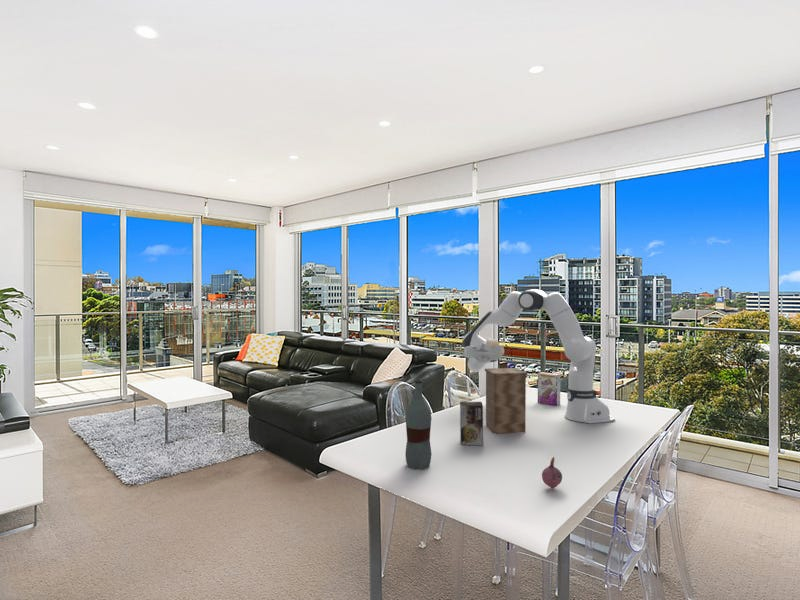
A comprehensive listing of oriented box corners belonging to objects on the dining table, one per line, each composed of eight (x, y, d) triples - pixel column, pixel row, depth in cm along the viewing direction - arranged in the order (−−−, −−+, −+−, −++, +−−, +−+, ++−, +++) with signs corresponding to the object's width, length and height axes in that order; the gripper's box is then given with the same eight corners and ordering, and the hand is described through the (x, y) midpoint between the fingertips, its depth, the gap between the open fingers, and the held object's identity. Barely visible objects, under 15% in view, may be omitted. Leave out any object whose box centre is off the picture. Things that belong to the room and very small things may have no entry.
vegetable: (551, 494, 141) (551, 461, 140) (537, 486, 146) (537, 454, 146) (566, 490, 143) (566, 458, 143) (552, 483, 149) (552, 452, 149)
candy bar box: (537, 402, 258) (537, 373, 258) (541, 401, 262) (541, 371, 262) (556, 405, 251) (557, 375, 250) (560, 404, 254) (560, 374, 254)
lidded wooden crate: (516, 424, 215) (516, 368, 215) (527, 432, 202) (527, 372, 202) (484, 425, 214) (484, 368, 213) (493, 433, 201) (493, 373, 200)
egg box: (489, 348, 238) (489, 336, 238) (500, 352, 221) (500, 340, 221) (481, 348, 238) (481, 336, 238) (491, 352, 220) (491, 340, 220)
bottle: (435, 468, 161) (435, 381, 161) (410, 471, 158) (410, 383, 158) (426, 459, 170) (426, 377, 170) (402, 462, 167) (402, 378, 167)
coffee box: (482, 440, 192) (482, 401, 191) (483, 445, 185) (483, 405, 185) (459, 440, 193) (459, 400, 192) (460, 445, 186) (460, 404, 186)
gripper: (460, 350, 246) (466, 339, 234) (498, 349, 248) (506, 339, 236) (462, 361, 243) (468, 351, 231) (500, 361, 245) (508, 350, 233)
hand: (487, 345), depth 234 cm, fingers closed on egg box, 4 cm apart
